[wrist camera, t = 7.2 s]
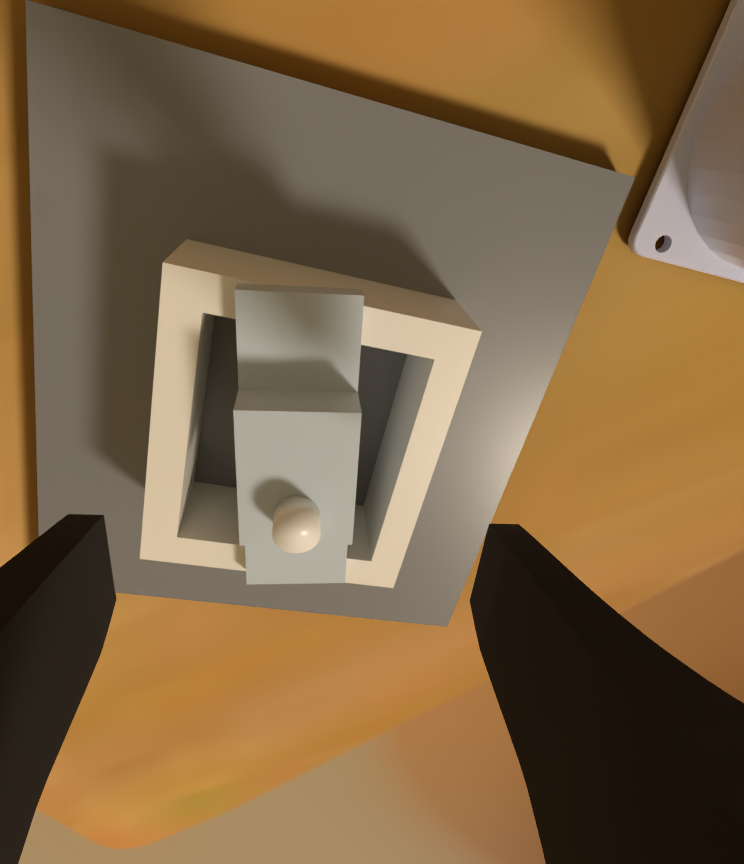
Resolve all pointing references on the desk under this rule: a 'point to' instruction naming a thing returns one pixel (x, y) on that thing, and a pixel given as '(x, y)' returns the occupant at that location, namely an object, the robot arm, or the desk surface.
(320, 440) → the block
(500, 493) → the pocket plate
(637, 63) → the desk surface
